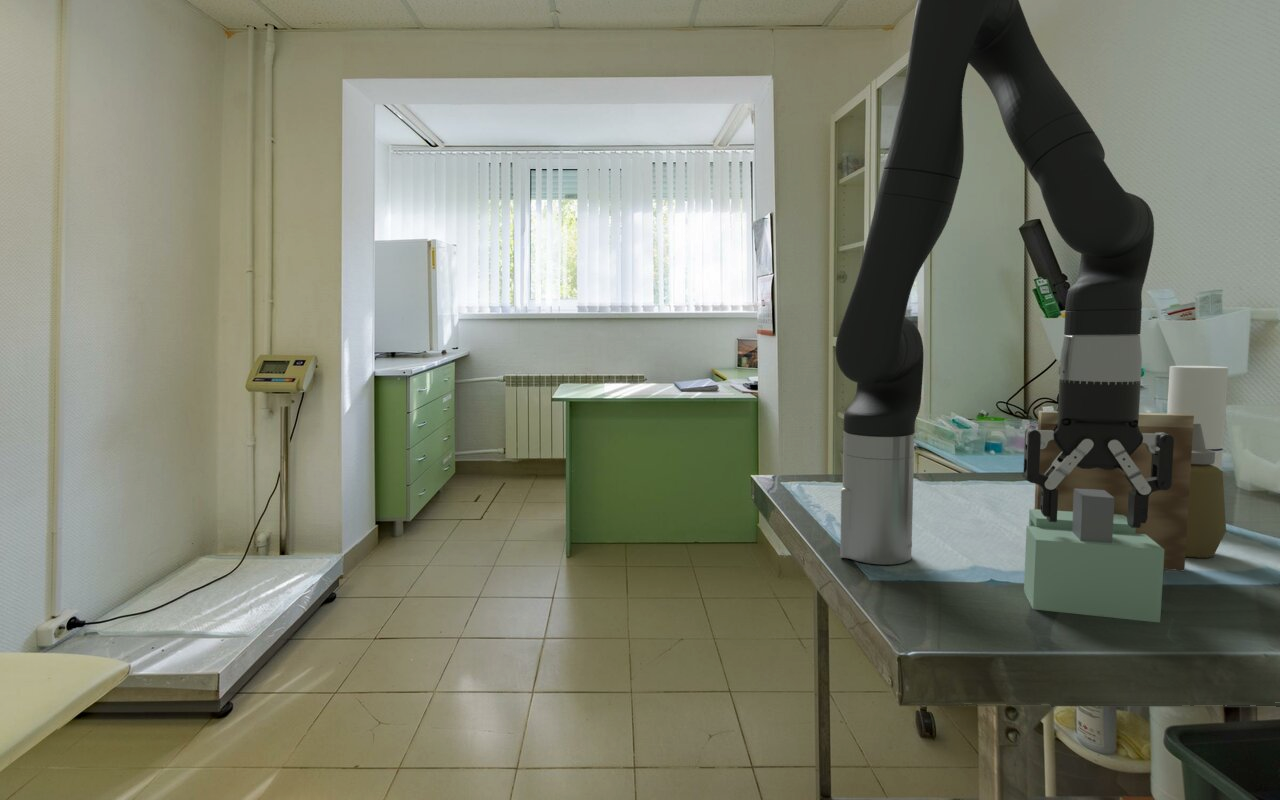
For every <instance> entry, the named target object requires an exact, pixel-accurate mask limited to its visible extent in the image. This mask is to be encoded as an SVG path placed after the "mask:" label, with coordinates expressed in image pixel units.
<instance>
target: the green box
mask: <svg viewBox="0 0 1280 800" xmlns="http://www.w3.org/2000/svg"><path fill="white" fill-rule="evenodd" d="M1028 510H1029V511H1028V512H1029V513H1028V525H1026V534H1025V553H1024V554H1025V555H1024V556H1025V557H1024V581H1023V582H1024V583H1023V592H1024V594H1025V596H1026V598H1027V600H1028V601H1029V604H1030V606H1031V608H1032V609H1033V610H1036V611H1037V610H1038V611H1046V612H1055V613H1066V614H1074V615H1075V614H1076V615H1084V616H1093V617H1094V616H1095V617H1104V618H1111V619H1112V618H1114V619H1123V620H1130V621H1131V620H1132V621H1143V622H1151V623H1152V622H1153V623H1161V616H1162V615H1161V614H1162V613H1161V611H1162V599H1163V598H1162V596H1163V579H1164V569H1163V566H1164V549H1163V548H1162V547H1161V546H1159V545H1158V544H1157V543H1156V542H1155V541H1153V540H1152V539H1151V538H1150V537H1148V536H1147V535H1146V534H1135V532H1136V528H1131V527H1130V526H1129V525H1128V523H1127V517H1125V516H1124V515H1117V514H1114V497H1113V496H1111V495H1110V494H1109V493H1108V492H1106V491H1105V490H1094V489H1076V488H1074V499H1073V512H1070V511H1057V522H1049V521H1048V520H1047V518H1046V517H1045V516H1044V515H1043V514H1042V512H1041V510H1039V509H1035V508H1029V509H1028Z"/></svg>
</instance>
